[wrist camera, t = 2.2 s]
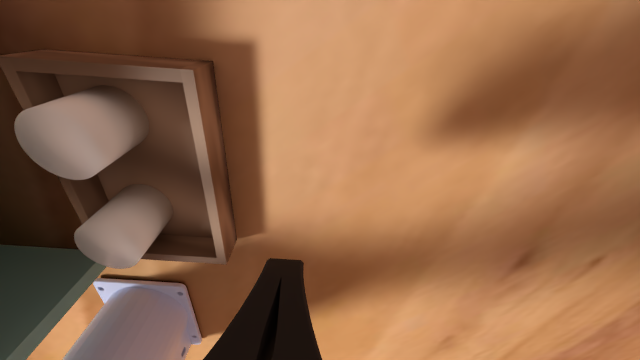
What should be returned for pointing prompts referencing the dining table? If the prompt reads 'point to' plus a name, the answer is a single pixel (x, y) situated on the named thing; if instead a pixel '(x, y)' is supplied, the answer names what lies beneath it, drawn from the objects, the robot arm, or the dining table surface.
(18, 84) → the tray
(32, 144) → the pale pink cylinder
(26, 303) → the box
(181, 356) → the robot arm
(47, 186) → the dining table surface
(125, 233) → the cup
